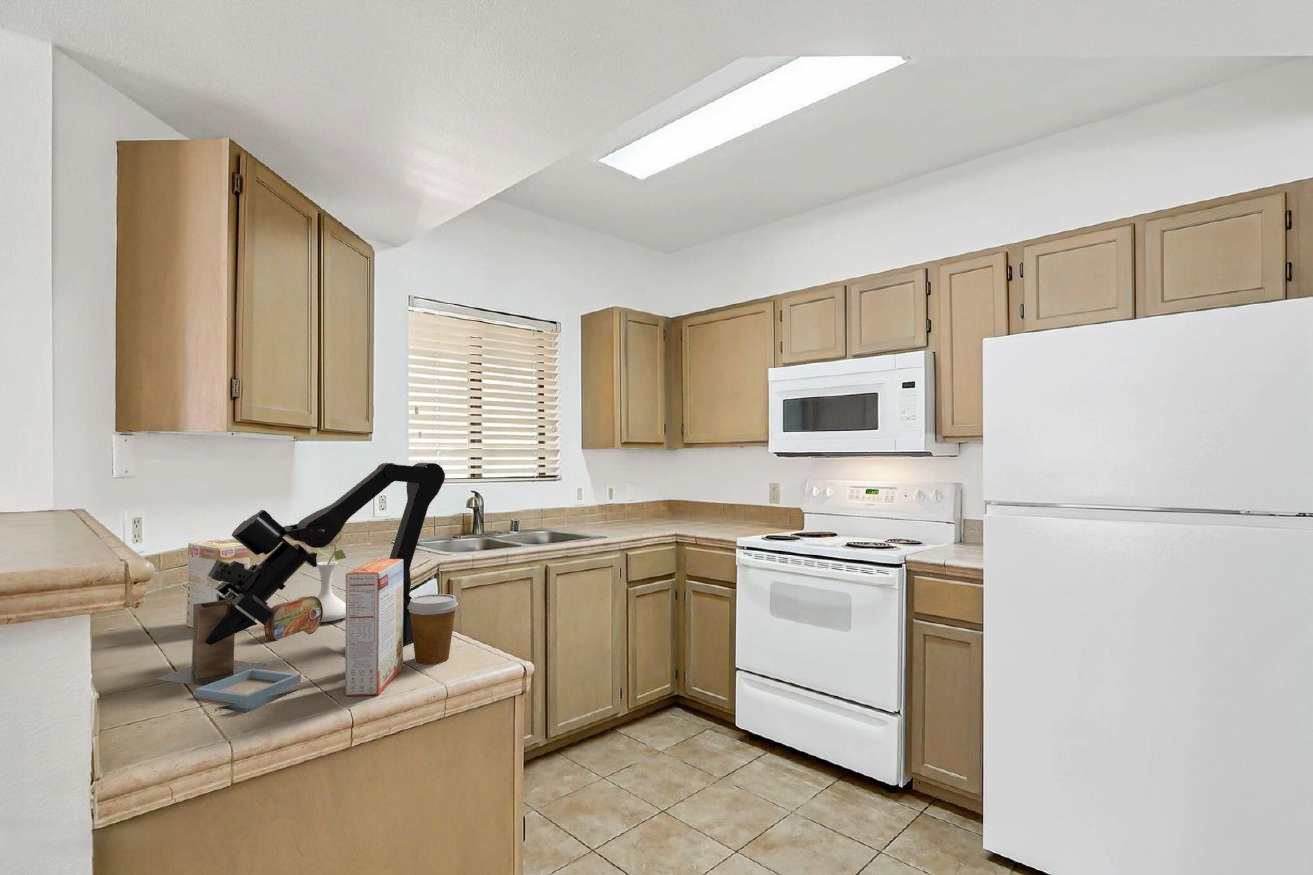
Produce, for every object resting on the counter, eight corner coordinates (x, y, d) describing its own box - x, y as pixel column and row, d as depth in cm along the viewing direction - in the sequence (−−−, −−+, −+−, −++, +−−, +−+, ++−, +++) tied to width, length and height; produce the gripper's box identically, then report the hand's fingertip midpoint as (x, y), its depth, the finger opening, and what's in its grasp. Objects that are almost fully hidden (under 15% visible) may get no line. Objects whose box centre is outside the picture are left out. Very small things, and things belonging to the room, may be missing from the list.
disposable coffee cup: (466, 655, 132) (467, 595, 132) (436, 669, 123) (437, 605, 123) (428, 650, 135) (429, 591, 135) (395, 663, 126) (396, 601, 126)
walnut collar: (227, 664, 121) (228, 599, 121) (233, 671, 117) (235, 604, 117) (191, 670, 117) (193, 604, 117) (197, 678, 113) (199, 609, 113)
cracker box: (371, 669, 122) (373, 558, 123) (404, 668, 123) (406, 558, 124) (341, 697, 109) (344, 571, 109) (378, 696, 109) (381, 571, 110)
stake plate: (267, 670, 121) (267, 642, 121) (206, 693, 110) (207, 662, 110) (217, 664, 124) (218, 637, 125) (153, 685, 113) (154, 655, 113)
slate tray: (300, 689, 112) (300, 674, 112) (246, 712, 102) (246, 696, 102) (252, 682, 115) (252, 668, 115) (194, 704, 105) (195, 689, 105)
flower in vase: (289, 621, 157) (291, 517, 157) (335, 612, 166) (337, 514, 167) (317, 629, 149) (320, 520, 150) (364, 619, 158) (366, 517, 159)
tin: (273, 648, 135) (274, 607, 135) (260, 647, 136) (261, 606, 136) (323, 629, 150) (324, 592, 150) (312, 628, 151) (312, 591, 151)
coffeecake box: (249, 629, 149) (251, 544, 150) (215, 636, 143) (217, 547, 144) (218, 619, 157) (220, 539, 158) (184, 626, 151) (186, 542, 152)
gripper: (229, 538, 127) (157, 603, 119) (253, 549, 114) (174, 623, 106) (274, 574, 132) (208, 638, 124) (302, 588, 119) (229, 661, 111)
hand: (204, 639), depth 116 cm, fingers closed on walnut collar, 5 cm apart
